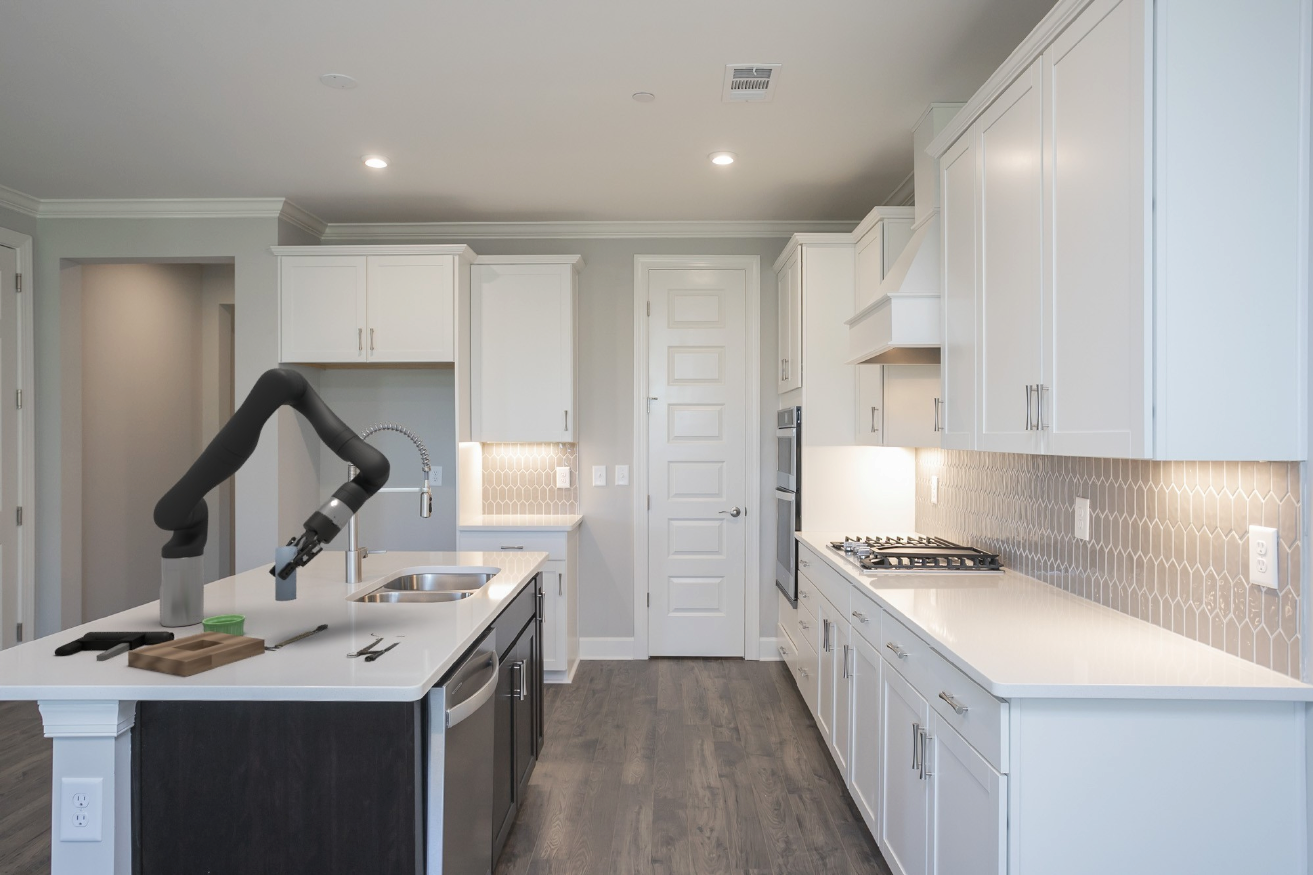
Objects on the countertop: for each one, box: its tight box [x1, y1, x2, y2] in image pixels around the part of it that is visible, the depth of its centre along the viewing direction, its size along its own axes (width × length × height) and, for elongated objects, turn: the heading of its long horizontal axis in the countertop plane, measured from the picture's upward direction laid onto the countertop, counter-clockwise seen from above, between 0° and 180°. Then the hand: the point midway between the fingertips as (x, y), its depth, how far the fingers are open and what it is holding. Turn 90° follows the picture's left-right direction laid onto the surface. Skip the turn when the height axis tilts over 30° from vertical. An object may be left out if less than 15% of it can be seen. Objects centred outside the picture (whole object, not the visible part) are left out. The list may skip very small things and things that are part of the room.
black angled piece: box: [54, 630, 175, 662], centre depth 170 cm, size 3×20×16 cm
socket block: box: [127, 631, 266, 677], centre depth 163 cm, size 18×18×3 cm
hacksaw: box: [346, 632, 406, 662], centre depth 173 cm, size 24×10×2 cm, turn 176°
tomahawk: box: [265, 623, 329, 652], centre depth 179 cm, size 21×7×1 cm, turn 166°
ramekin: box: [201, 614, 246, 636], centre depth 181 cm, size 9×9×4 cm
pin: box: [274, 545, 297, 602], centre depth 176 cm, size 4×4×12 cm
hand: (276, 576), depth 175 cm, fingers closed on pin, 4 cm apart
